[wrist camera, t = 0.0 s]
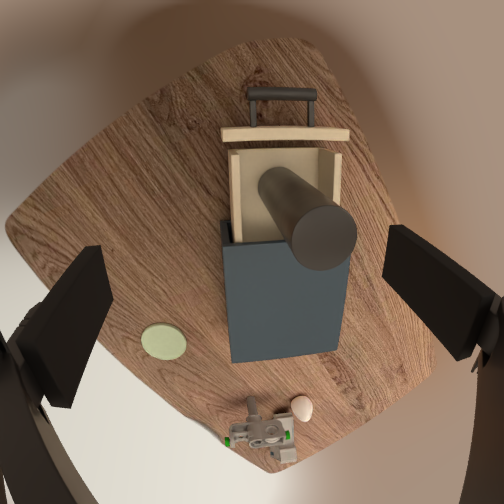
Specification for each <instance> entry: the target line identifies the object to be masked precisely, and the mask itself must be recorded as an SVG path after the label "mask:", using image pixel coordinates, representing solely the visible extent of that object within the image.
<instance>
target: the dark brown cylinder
mask: <svg viewBox="0 0 504 504" xmlns="http://www.w3.org/2000/svg"><path fill="white" fill-rule="evenodd" d="M258 194H259V196H260V198H261V200H262V202H263V203H264V205H265V207H266V208H267V210H268V212H269V213H270V215H271V217H272V219H273V220H274V222H275V224H276V225H277V227H278V229H279V231H280V232H281V234H282V236H283V237H284V239H285V241H286V243H287V244H288V246H289V248H290V250H291V251H292V253H293V255H294V257H295V258H296V260H297V261H298V262H299V263H300V264H301V265H303V266H304V267H306V268H308V269H311V270H315V271H325V270H329V269H332V268H335V267H337V266H339V265H340V264H342V263H343V262H344V261H345V260H346V259H347V258H348V257H349V256H350V254H351V253H352V251H353V249H354V247H355V244H356V240H357V228H356V224H355V221H354V219H353V218H352V216H351V215H350V214H349V213H348V212H347V211H346V210H345V209H343V208H342V207H341V206H339V205H338V204H337V203H335V202H334V201H333V200H331V199H330V198H329V197H327V196H326V195H325V194H323V193H322V192H320V191H319V190H318V189H316V188H315V187H314V186H312V185H311V184H309V183H308V182H307V181H305V180H304V179H302V178H301V177H300V176H298V175H297V174H295V173H294V172H292V171H291V170H289V169H287V168H285V167H274V168H271V169H269V170H267V171H266V172H265V173H264V174H263V175H262V176H261V178H260V180H259V182H258Z"/></svg>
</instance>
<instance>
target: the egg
mask: <svg viewBox="0 0 504 504" xmlns="http://www.w3.org/2000/svg"><path fill="white" fill-rule="evenodd" d="M291 408H292V411H293V413H294V414H295V415H296V417H297V418H299V419H300V420H301V421H303V422H307V421H308V420H309V419H310V417H311V415H312V411H313V406H312V402H311V401H310V399H309V398H308V397H306V396H298V397H296V398H294V399H293V400H292V402H291Z"/></svg>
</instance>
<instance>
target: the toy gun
mask: <svg viewBox="0 0 504 504" xmlns="http://www.w3.org/2000/svg"><path fill="white" fill-rule="evenodd" d="M273 419H276V420H279V421H281V423H282V426H283V428H284V430H285V431H288V430H289V432H290V439H288V440H285V444H283V445H276V446H270V456H271V458H274V459H277V460H280V463H281V464H282V463H290V462H296V459H297V453H296V447H295V445H294V420H293V416H292V412H291V413H282V414H274V415H273Z"/></svg>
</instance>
